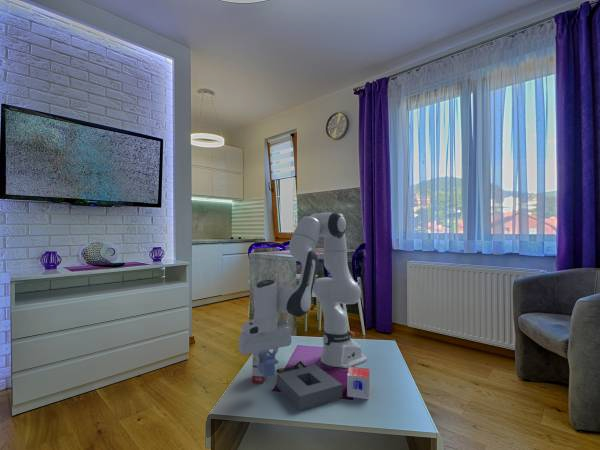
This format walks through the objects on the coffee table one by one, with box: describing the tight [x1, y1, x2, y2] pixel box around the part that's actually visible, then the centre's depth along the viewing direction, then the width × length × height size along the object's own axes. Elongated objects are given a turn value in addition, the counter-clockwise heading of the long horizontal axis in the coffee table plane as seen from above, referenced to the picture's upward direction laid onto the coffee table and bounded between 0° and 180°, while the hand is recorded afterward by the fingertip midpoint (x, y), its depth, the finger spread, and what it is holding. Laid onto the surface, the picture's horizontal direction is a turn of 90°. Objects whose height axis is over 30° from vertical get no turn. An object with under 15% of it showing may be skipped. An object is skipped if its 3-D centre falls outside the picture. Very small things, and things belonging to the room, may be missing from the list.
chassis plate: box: [276, 364, 343, 412], centre depth 120 cm, size 18×19×5 cm
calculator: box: [276, 360, 307, 374], centre depth 135 cm, size 9×12×3 cm
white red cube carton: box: [346, 366, 370, 400], centre depth 120 cm, size 8×8×8 cm
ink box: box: [251, 353, 268, 384], centre depth 131 cm, size 9×5×12 cm, turn 168°
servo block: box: [258, 350, 279, 378], centre depth 117 cm, size 4×13×8 cm, turn 29°
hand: (265, 361), depth 117 cm, fingers closed on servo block, 4 cm apart
